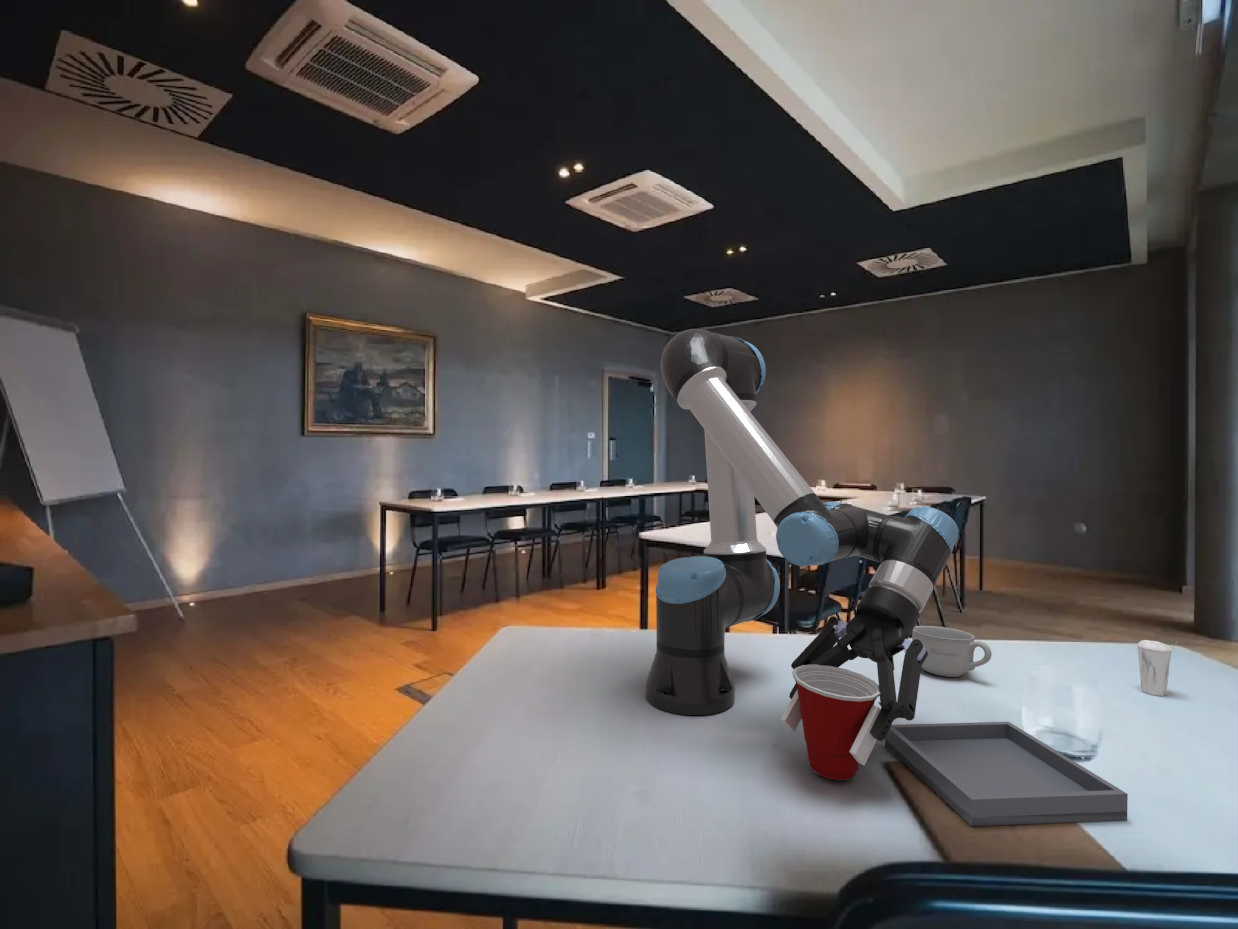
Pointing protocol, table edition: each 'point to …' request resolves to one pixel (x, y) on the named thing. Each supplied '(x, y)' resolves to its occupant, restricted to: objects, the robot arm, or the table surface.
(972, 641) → the teacup
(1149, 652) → the milkshake
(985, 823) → the grey shallow square tray
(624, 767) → the table surface
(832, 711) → the plastic cup
